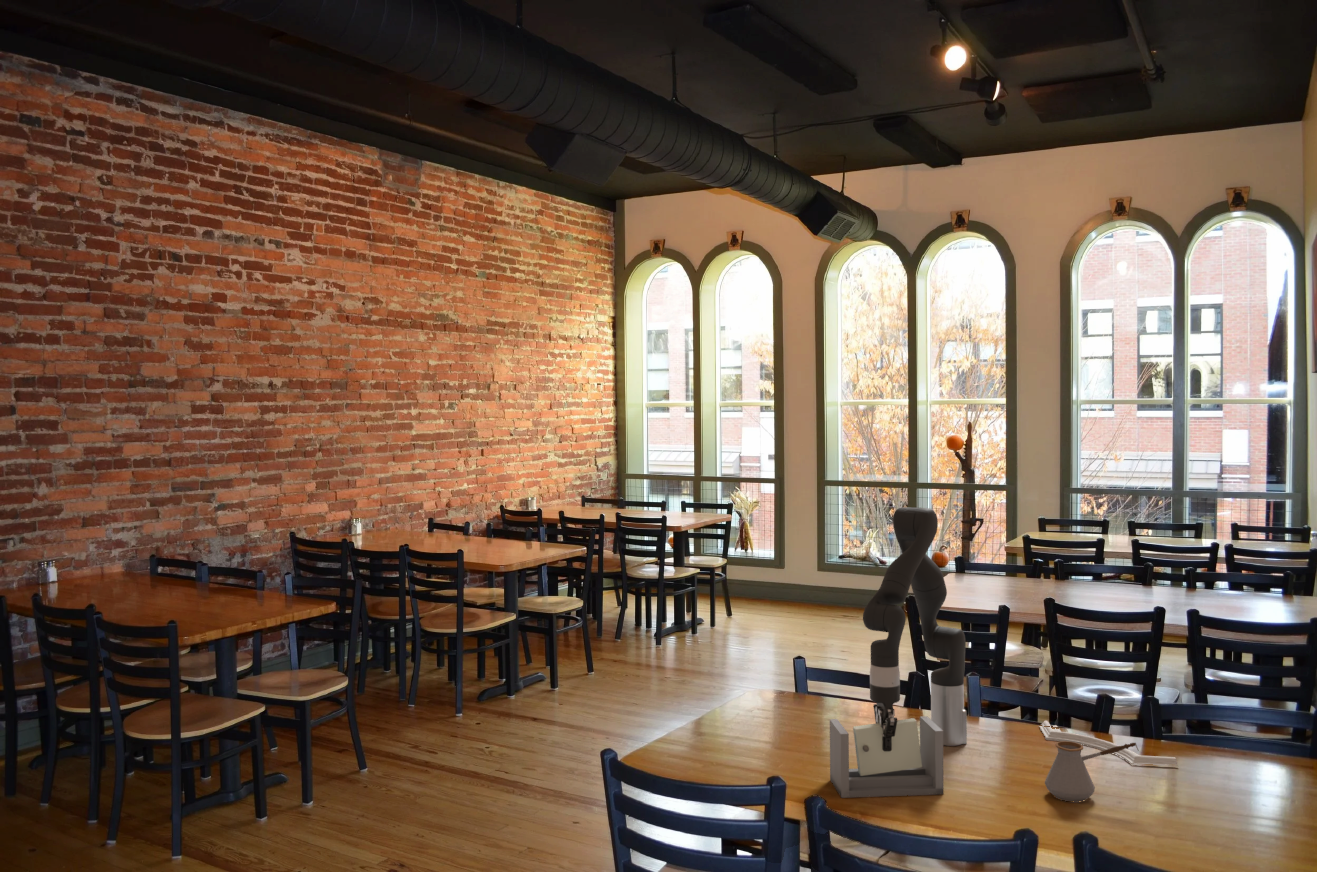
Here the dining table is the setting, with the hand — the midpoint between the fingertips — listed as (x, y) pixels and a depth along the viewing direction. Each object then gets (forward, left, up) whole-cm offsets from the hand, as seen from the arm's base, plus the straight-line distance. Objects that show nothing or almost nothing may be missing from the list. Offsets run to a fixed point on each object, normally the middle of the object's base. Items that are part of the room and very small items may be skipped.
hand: (885, 748), depth 250 cm
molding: (-70, -24, -11) cm, 75 cm away
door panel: (-1, 0, -5) cm, 6 cm away
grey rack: (0, 0, -10) cm, 10 cm away
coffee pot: (-48, +12, -10) cm, 50 cm away
